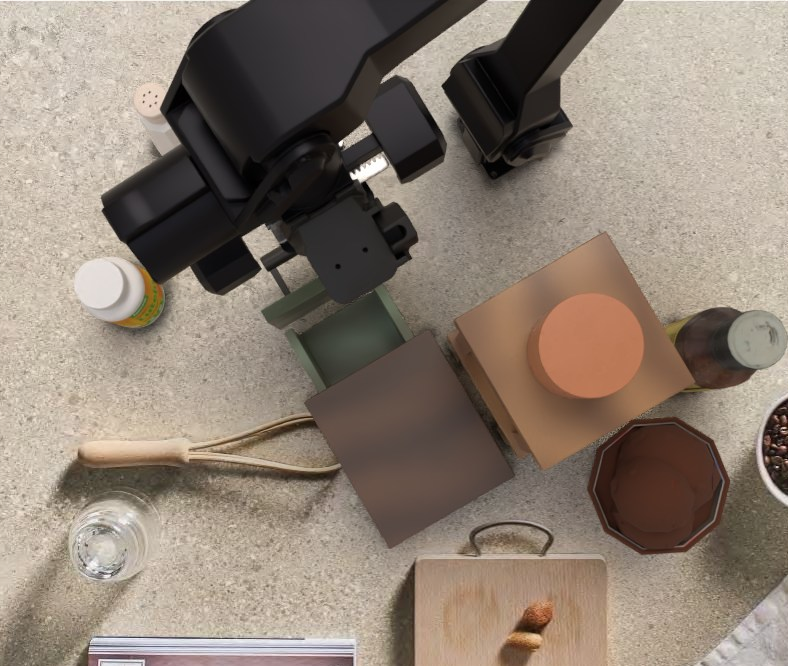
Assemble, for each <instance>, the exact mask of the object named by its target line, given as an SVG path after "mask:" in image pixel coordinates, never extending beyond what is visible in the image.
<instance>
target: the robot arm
mask: <svg viewBox="0 0 788 666" xmlns="http://www.w3.org/2000/svg"><path fill="white" fill-rule="evenodd" d="M624 1H625V0H528V2H527V4H526V5H525V7H524V8H523V10H522V11H521V12H520V14H519V16H518V17H517V19H516V21H515V22H514V23H513V25H512V26H511V28H510V29H509V31H508V33H507V34H506V35H505V36H504V37H502V38H500V39H497V40H496V41H493V42H492V43H489V44H485V45H481V46H479V47H476V48H474V49H473V50H471V51H469V52H468V53H466V54H464V56H462V57H461V58H460V59H458V61H457V62H456V63H455V64H454V65H453V66H452V67H451V69H450V71H449V76H448V77H447V79H446V80H445V81H443V83H442V84H441V85H440V87H441V89H442V90H443V93H444V95H445V96H446V98H447V99H448V102H449V103H450V105H451V106H452V107H453V109H454V111H455V112H456V114H457V115H458V117H457V119H456V124H457V126H458V129H459V130H460V132H461V133H462V139H461V141H462V142H463V145H464V146H465V148H466V149H467V151H468V153H469V154H470V156H471V158H472V160H473V161H474V163H475V164H476V165H481V167H482V169H483V170H484V172H485V174H486V176H487V177H488V179H489V180H490V181H497V180H499V179H500V178H502V177H504V176H506V175H508V174H509V173H511V172H512V171H514V170H516V169H518V168H519V167H521V166H523V165H524V164H526V163H528V162H529V161H538V162H542V161H544V160H545V159H548V157H549V155H550V153H551V149H552V147H553V146H555V145H556V144H558V142H560V141H562V140H563V139H564V138H566V137H567V134H568V133H569V132H570V130H571V129H573V128H574V124H573V123H572V121H571V120H570V118H569V117H568V115H567V113H565V110H564V109H563V108H562V106H561V105H562V101H561V99H562V98H561V97H562V96H561V95H562V93H561V91H562V87H561V86H562V80H561V79H562V76H563V74H564V73H565V72H566V71H567V69H568V68H569V67H570V66H571V65H572V63H573V62H574V61H575V60H576V58H578V56H579V55H580V54H581V53H582V51H583V50H584V49H585V48H586V47H587V46H588V44H589V43H590V42H591V41H592V39H593V38H594V37H595V36H596V34H597V33H598V32H599V31H600V30H601V29H602V27H603V26H604V25H605V24H606V23H607V21H608V20H609V19H610V18H611V16H612V15H613V14H614V13H615V12H616V10H617V9H618V8H620V6H621V5H622V3H623V2H624ZM486 2H488V0H248V1H246V2H245V3H243V4H242V5H240V6H238V7H236V8H231V9H227V10H224V11H222V12H221V13H218V14H216V15H214V16H213V17H211V18H210V19H208V20H207V21H206V22H205V23H203V24H202V25H201V26H200V27H199V29H197V31H195V33H194V34H193V36H192V38H190V41H189V43H188V45H187V47H186V49H185V52H184V54H183V56H182V58H181V61H180V63H179V65H178V67H177V69H176V72H175V73H174V76H173V78H172V81H171V83H170V85H169V87H168V89H167V93H166V96H165V98H164V100H163V102H162V104H161V107H160V111H161V113H162V115H163V116H164V118H165V119H166V121H167V122H168V124H169V126H170V127H171V129H172V130H173V132H174V133H175V135H176V137H177V138H178V140H179V141H180V143H181V144H180V145H178V146H177V147H175V148H174V149H172V150H170V151H169V152H167V153H166V154H164V155H163V156H162V155H161V156H159V157H158V158H156V159H155V160H153V161H152V162H150V163H148V164H147V165H146V166H144V167H142V168H141V169H139V170H138V171H136V172H135V173H133V174H132V175H130V176H128V177H127V178H125V179H124V180H123V181H121V182H119V183H118V184H116V185H115V186H113V187H112V188H110V189H108V190H107V191H105V192H104V193H103V194H101V195H100V200H101V203H102V206H103V207H102V208H101V211H100V212H101V213H102V215H103V217H104V218H105V219H106V221H107V223H108V224H109V226H110V227H111V229H112V231H113V233H114V234H115V236H116V237H117V238H118V241H119V242H120V243H123V244H125V245H126V246H127V248H128V249H129V250H130V252H131V253H132V254H133V255H134V257H135V258H136V259H137V261H139V264H141V265H142V266H143V268H144V270H146V271H147V272H148V274H149V275H150V277H151V278H152V280H153V281H154V282H155V283H156V284H158V285H161V284H162V285H163V284H165V283H166V282H168V281H169V280H171V279H172V278H174V277H176V276H177V275H179V274H180V273H182V272H184V271H185V270H186V269H188V268H190V269H191V271H192V273H193V274H194V276H195V277H196V279H197V281H198V283H200V285H201V287H202V288H203V289H204V290H205V291H206V292H208V293H210V294H213V295H217V296H221V297H224V296H226V295H227V294H228V293H230V292H231V291H233V290H235V289H236V288H238V287H240V286H241V285H243V284H244V283H246V282H248V281H250V280H252V279H253V278H255V277H256V276H257V274H259V273H260V272H261V271H262V270H263V268H262V267H261V264H260V263H259V261H257V260H256V258H255V257H254V255H253V253H252V251H251V250H250V248H249V246H248V245H247V242H245V240H244V239H243V237H245V236H246V235H248V234H250V233H251V232H253V231H254V230H256V229H258V228H259V227H262V226H264V225H265V227H266V229H267V230H268V231H271V232H272V235H273V236H274V238H275V239H276V241H277V243H278V244H279V246H281V247H282V249H283V250H284V251H285V252H287V253H294V252H297V254H298V255H297V256H300V257H306V260H307V261H308V263H309V264H310V266H311V267H312V270H313V271H314V272H315V274H316V276H317V277H319V279H320V281H321V282H322V284H323V286H324V287H325V289H326V290H327V292H328V294H329V295H330V297H331V298H332V299H333V300H332V301H333V302H335V303H337V304H340V305H349V304H352V303H354V302H355V301H357V300H359V299H360V298H362V297H364V296H365V295H367V294H369V293H370V292H372V291H374V290H373V289H374V288H376V287H378V286H379V285H381V284H383V285H384V283H386V282H388V281H389V280H391V279H392V278H393V277H394V276H395V275H396V273H397V271H398V269H399V268H400V267H402V266H404V265H405V264H407V263H408V262H410V261H412V260H413V257H412V254H411V252H410V249H411V248H412V247H414V246H415V245H417V244H418V243H419V235H418V232H417V229H416V227H415V226H414V223H412V221H411V218H410V217H409V215H408V214H407V213H406V211H405V210H404V209H403V207H402V206H401V204H399V203H398V202H396V201H392V202H389V203H388V204H386V205H383V204H382V202H381V199H379V197H378V196H376V197H375V194H374V192H373V190H372V189H371V187H370V185H369V184H368V181H369V180H371V179H373V178H374V177H375V176H378V175H379V174H381V173H382V172H383V171H386V170H387V169H388V168H389V166H391V167H392V169H393V171H394V172H395V174H396V178H397V180H398V182H399V183H400V185H405V184H408V183H411V182H413V181H415V180H416V179H418V178H420V177H421V176H423V175H425V174H427V173H428V172H430V171H432V170H433V169H434V168H437V167H438V166H440V165H441V164H443V163H444V162H445V159H446V154H447V150H448V149H447V148H448V142H447V140H446V138H445V135H444V133H443V131H442V129H441V128H440V127H439V125H438V123H437V121H436V120H435V118H434V116H433V115H432V113H431V111H430V109H429V108H428V106H427V105H426V103H425V102H424V100H423V98H422V97H421V95H420V93H419V92H418V90H417V88H416V87H415V85H414V83H413V82H412V81H411V80H410V79H409V78H407V77H404V76H401V75H398V74H395V75H393V76H391V77H389V78H388V79H387V80H386V79H385V81H383V79H384V78H385V77H386V76H387V75H388V74H390V73H391V72H392V71H393V70H395V69H396V68H397V67H398V66H399V65H401V64H402V63H403V62H405V61H406V60H407V59H409V58H410V57H412V56H413V55H414V54H416V53H417V52H418V51H420V50H421V49H422V48H424V47H425V46H427V45H428V44H429V43H431V42H432V41H433V40H435V39H436V38H438V37H440V36H441V35H442V34H443V33H445V32H446V31H447V30H449V29H450V28H452V27H454V25H456V24H457V23H458V22H460V21H461V20H463V19H464V18H465V17H467V16H468V15H470V14H471V13H472V12H474V11H475V10H477V9H478V8H480V7H481V6H482V5H483V4H485V3H486ZM364 122H365V124H366V127H368V129H369V131H370V132H371V133H369V134H368V135H367V136H365V137H364V138H362V139H360V140H358V141H356V142H355V143H354V144H352V145H350V146H345V144H344V139H345V138H347V137H348V136H349V135H351V134H352V133H353V132H354V131H355V130H357V129H358V128H359V127H360V126H362V125H363V124H364ZM378 155H379V157H378ZM373 158H374V160H373ZM368 161H369V163H367V162H368ZM363 164H364V166H365V167H364V166H362V165H363ZM493 173H495V174H496V175H495V176H493V175H492V174H493Z"/></svg>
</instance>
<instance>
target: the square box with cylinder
mask: <svg viewBox="0 0 788 666" xmlns="http://www.w3.org/2000/svg"><path fill="white" fill-rule="evenodd" d="M582 293H600V294H605V295H608V296H611V297H613V298H615V299H617V300H619V301H620V302H622V303H623V304H624V305H626V306H627V307H628V308H629V309H630V310H631V311H632V312H633V314H634V315H635V317H636V318H637V320H638V322H639V324H640V326H641V329H642V332H643V337H644V354H643V359H642V362H641V365H640V367H639V369H638V371H637V373H636V374H635V376H634V377H633V379H632V380H631V381H630V382H629V383H628V384H627V385H626V386H625V387H623V388H622V389H620V390H619V391H617V392H615V393H613V394H611V395H608V396H605V397H600V398H587V399H569V398H564V397H560V396H557V395H555V394H553V393H551V392H550V391H548V390H547V389H545V388H544V387H543V386H542V385H541V384H540V383H539V382H538V381H537V380H536V378H535V377H534V375H533V373H532V371H531V369H530V366H529V363H528V358H527V343H528V338H529V335H530V332H531V330H532V328H533V326H534V325H535V323H536V322H537V321H538V320H539V318H540V317H541V316H542V315H544V314H545V313H546V312H547V311H549V310H550V309H552V308H553V307H555V306H556V305H558V304H559V303H561V302H562V301H564V300H565V299H567V298H569V297H572V296H574V295H578V294H582ZM453 324H454V326H455V328H456V329H454V330H453V331H450V332H449V333H447V334H446V336H445V337H446V339H447V341H448V343H449V344H450V345H449V347H448V349H449V350H450V352H451V354H452V355H453V357H454V359H455V361H456V362H457V363H461V365H462V367H463V368H464V369H465V371H466V373H467V375H468V377H469V378H470V380H471V382H472V383H473V385H474V387H475V389H476V390H477V391H478V394H479V395H480V397H481V399H482V401H483V402H484V404H485V406H486V407H487V409H488V411H489V413H490V414H491V416H492V417H493V419H494V421H495V422H496V424H497V426H498V427H496V430H497V432H498V433H499V435H500V438H501V439H502V440H503V443H504V444H505V445H508V446H510V448H511V450H512V452H513V454H514V456H515V457H516V458H517V459H518V460H521V459H523V458H525V457H527V456H529V455H531V457H532V459H533V461H534V462H535V464H536V466H537V467H538V469H539V470H541V471H542V472H545V471H547V470H549V469H550V468H552V467H554V466H555V465H557V464H559V463H561V462H562V461H564V460H565V459H567V458H569V457H571V456H573V455H575V454H577V452H579V451H581V450H583V449H585V448H586V447H588V446H589V445H591V444H594V442H596V441H598V440H600V439H602V438H603V437H605V436H607V435H608V434H610V433H612V432H613V431H615V430H617V429H620V428H621V427H623V426H625V425H626V424H627V423H628V422H630V421H631V420H634V419H637V417H639V416H641V415H643V414H644V413H646V412H648V411H649V410H651V409H653V408H655V407H657V406H658V405H660V404H662V403H663V402H666V401H667V400H668V399H671V398H672V397H673V396H675V395H677V394H679V393H680V391H682V390H684V389H685V388H687V387H689V386H691V385H692V384H694V383H695V380H694V378H693V376H692V375H691V373H690V371H689V370H688V368H687V366H686V365H685V363H684V361H683V360H682V358H681V356H680V355H679V353H678V351H677V350H676V348H675V346H674V344H673V343H672V341H671V339H670V338H669V336H668V334H667V333H666V331H665V329H664V326H663V324H662V323H661V322H660V318H659V317H658V316H657V314H656V313H655V310H654V309H653V308H652V306H651V304H650V303H649V301H648V299H647V297H646V296H645V294H644V292H643V291H642V289H641V287H640V286H639V284H638V282H637V281H636V279H635V277H634V275H633V274H632V272H631V271H630V268H629V267H628V265H627V264H626V261H625V260H624V258H623V257H622V255H621V254H620V252H619V250H618V249H617V247H616V245H615V243H614V242H613V240H612V238H611V237H610V235H609V233H608V231H605V230H604V231H603V232H601V233H599V234H598V235H596V236H594V237H592V238H591V239H589V240H587V241H585V242H584V243H582V244H581V245H579V246H577V247H576V248H574V249H572V250H570V251H569V252H566V253H565V254H563V255H562V256H560V257H558V258H557V259H555V260H553V261H551V262H550V263H548V264H547V265H545V266H543V267H542V268H540V269H537V270H536V271H534V272H533V273H531V274H530V275H528V276H525V278H523V279H521V280H519V281H517V282H516V283H514V284H512V285H511V286H509V287H507V288H505V289H504V290H502V291H501V292H499V293H497V294H495V295H494V296H492V297H491V298H488V299H487V300H485V301H483V302H481V303H480V304H478V305H477V306H475V307H474V308H471V309H470V310H468V311H466V312H464V313H463V314H461V315H460V316H458V317H456V318H455V319H454V320H453Z"/></svg>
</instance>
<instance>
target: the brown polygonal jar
mask: <svg viewBox="0 0 788 666" xmlns="http://www.w3.org/2000/svg"><path fill="white" fill-rule="evenodd" d="M730 484H731V480H730V476H729V474H728V471H727V469H726V467H725V465H724V462H723V460H722V456H721V454H720V452H719V450H718V447H717V445H716V442H715V440H714V439H713V438H711V437H710V436H708V435H706V434H705V433H703V432H702V431H700V430H698V429H697V428H695V427H693V426H692V425H690V424H689V423H687V422H686V421H684V420H683V419H680V418H679V417H677V416H666V417H663V416H662V417H650V418H649V417H647V418H634V419H632V420H631V421H629V422H627V423H626V424H624V425H623V426H621V427H620V428H619V429H618V430H617V431H616V432H615V433H614V434H613V435H611V436H610V437H609V438H608V439H606V440H605V441H604V442H603V443H602V444H600V445H599V446H598V447H597V448H596V452H595V455H594V460H593V464H592V468H591V472H590V476H589V480H588V485H587V488H586V490H587V493H588V496H589V498H590V501H591V503H592V505H593V508H594V511H595V513H596V515H597V518H598V521H599V523H600V525H601V528H602V530H603V532H604V533H605V534H607V535H609V536H610V537H612V538H614V539H615V540H617V541H618V542H620V543H622V544H623V545H625V546H626V547H628V548H629V549H631V550H632V551H633V552H636V553H638V554H639V555H640V556H650V555H665V554H667V555H668V554H680V553H682V554H683V553H687V552H689V551H690V550H691V549H692V548H693V547H694V546H695V545H696V544H698V543H699V542H700V541H702V540H703V539H704V538H705V537H706V536H707V535H708V534H710V533H711V532H712V531H713V530H714V529H716V528H717V527H718V526H719V525H720V524H721V521H722V518H723V514H724V510H725V505H726V502H727V501H726V500H727V496H728V494H729V488H730Z"/></svg>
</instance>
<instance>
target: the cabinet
mask: <svg viewBox="0 0 788 666" xmlns="http://www.w3.org/2000/svg"><path fill="white" fill-rule="evenodd" d="M303 404H304V405H305V407H306V409H307V411H308V412H309V414H310V415H311V418H312V419H313V421H314V423H315V424H316V427H318V430H319V431H320V432H321V435H322V436H323V438H324V440H325V442H326V443H327V444H328V447H329V448H330V450H331V452H332V453H333V455H334V456H335V458H336V460H337V462H338V463H339V466H340V467H341V469H342V471H343V472H344V474H345V476H346V477H347V479H348V481H349V483H350V484H351V486H352V488H353V490H354V491H355V493H356V495H357V496H358V498H359V500H360V501H361V503H362V505H363V506H364V508H365V509H366V512H367V513H368V515H369V517H370V518H371V520H372V522H373V523H374V525H375V527H376V529H377V530H378V532H379V534H380V535H381V537H382V539H383V541H384V542H385V544H386V546H387V547H388V549H389V550H391V549H393V548H395V547H396V546H398V545H400V544H402V543H404V542H405V541H407V540H409V539H410V538H412V537H413V536H415V535H417V534H419V533H420V532H422V531H424V530H425V529H427V528H430V527H431V526H432V525H434V524H436V523H438V522H439V521H441V520H442V519H443V520H444V518H446V517H449V515H451V514H453V513H455V512H456V511H458V510H460V509H462V508H463V507H465V506H467V505H468V504H470V503H472V502H474V501H475V500H477V499H479V498H480V497H482V496H484V495H486V494H487V493H489V492H490V491H493V490H494V489H495V488H497V487H499V486H501V485H503V484H504V483H507V482H509V480H511V479H513V478H514V477H516V473H515V472H514V470H513V468H512V467H511V465H510V464H509V462H508V460H507V459H506V457H505V455H504V454H503V452H502V450H501V448H500V447H499V445H498V444H497V442H496V440H495V439H494V436H493V435H492V433H491V431H490V430H489V428H488V426H487V424H486V423H485V422H484V421H485V420H484V419H483V418H482V416H481V414H480V413H479V411H478V410H477V408H476V406H475V404H474V402H473V401H472V400H471V397H470V396H469V394H468V393H467V391H466V389H465V387H464V385H463V384H462V382H461V381H460V379H459V377H458V375H457V374H456V372H455V370H454V369H453V367H452V365H451V363H450V362H449V359H448V358H447V357H446V355H445V353H444V352H443V350H442V348H441V347H440V345H439V343H438V341H437V340H436V338H435V336H434V335H433V332H432V331H431V329H430V328H428V329H427V328H426V329H425V330H424V331H422V332H420V333H419V334H416V335H414V338H412V339H410V340H408V341H407V342H405V343H403V344H402V345H400V346H398V347H397V348H395V349H393V350H391V351H390V352H388V353H386V354H385V355H383V356H381V357H380V358H378V359H376V360H374V361H373V362H371V363H369V364H368V365H366V366H364V367H362V368H361V369H359V370H357V371H356V372H354V373H352V374H351V375H349V376H347V377H345V378H344V379H342V380H340V381H339V382H337V383H335V384H334V385H332V386H330V387H328V388H327V389H325V390H323V391H322V392H320V393H318V392H317V394H315V395H313V396H311V397H309V398H308V399H306V400H304V401H303Z"/></svg>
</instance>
